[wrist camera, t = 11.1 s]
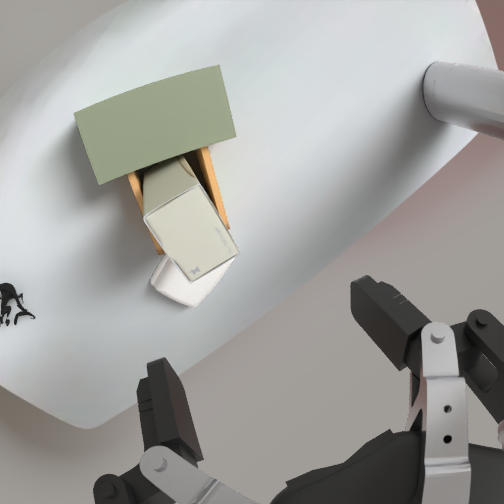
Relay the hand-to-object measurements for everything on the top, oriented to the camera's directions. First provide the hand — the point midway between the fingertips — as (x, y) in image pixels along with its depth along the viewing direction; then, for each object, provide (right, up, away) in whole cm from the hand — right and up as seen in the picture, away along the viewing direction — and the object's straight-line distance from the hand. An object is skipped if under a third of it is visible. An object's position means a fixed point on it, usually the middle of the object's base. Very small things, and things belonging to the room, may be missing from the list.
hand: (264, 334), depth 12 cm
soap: (-7, +2, +24) cm, 25 cm away
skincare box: (-8, +10, +18) cm, 22 cm away
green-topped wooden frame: (-9, +12, +17) cm, 22 cm away
